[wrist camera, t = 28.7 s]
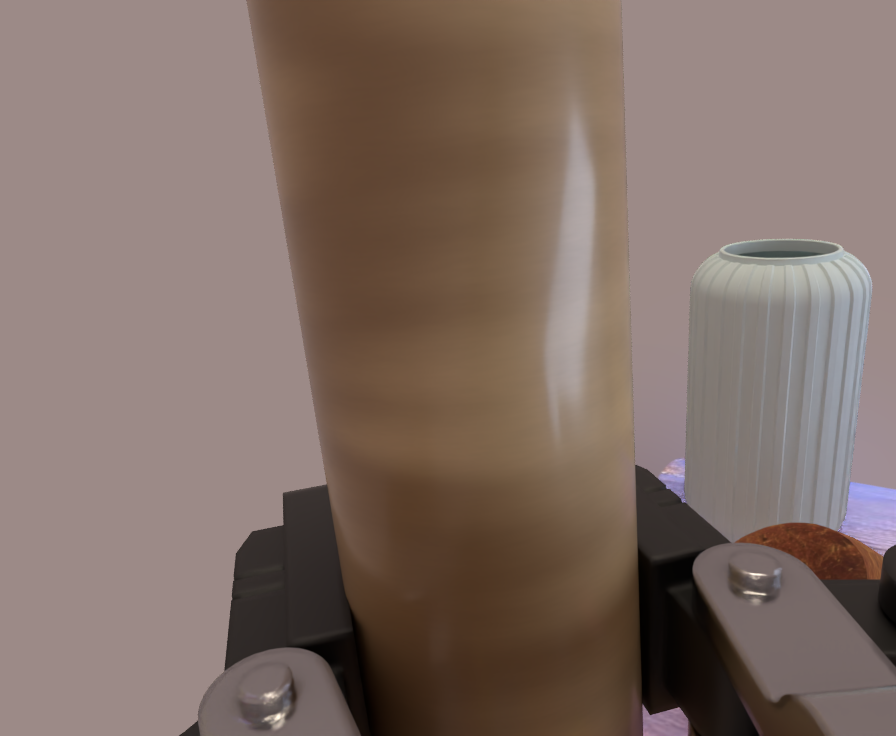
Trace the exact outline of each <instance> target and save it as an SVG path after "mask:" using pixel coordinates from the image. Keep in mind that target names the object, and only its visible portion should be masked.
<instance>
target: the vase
mask: <svg viewBox="0 0 896 736" xmlns="http://www.w3.org/2000/svg"><path fill="white" fill-rule="evenodd" d="M871 296H872V281H871V278H870V275H869V273H868V271H867V269H866V268H865V266H864V265H863V263H862V262H860V261H859V260H858V259H857V258H856V257H855V256H854V255H852V254H850V253H847V252H846V251H844V249H843V247H842V246H840V245H838V244H835V243H831V242H825V241H818V240H817V241H816V240H805V239H804V240H803V239H766V240H754V241H745V242H738V243H733V244H729V245H726V246H724V247H722V248H721V249H720V252H718V253H716V254H714V255H712V256H710V257H709V258H707V259H706V260H705V261H704V262H703V263H702V264H701V265H700V266H699V268H698V269H697V271H696V272H695V274H694V277H693V279H692V281H691V288H690V318H689V352H688V385H687V386H688V387H687V419H686V421H687V422H686V453H685V485H684V493H685V499H686V501H687V505H689V506H690V507H691V508H692V509H693V510H694V511H696V512H697V513H698V514H699V515H700V516H701V517H702V518H704V519H705V520H706V521H707V522H708V523H709V524H711V525H712V526H713V527H714V528H715V529H716V530H717V531H719V532H720V533H721V534H722V535H723V536H724V537H726V538H727V539H728V540H729V541H730V542H731V543H734V542H736V541H737V540H739V539H740V538H742V537H744V536H746V535H748V534H750V533H753V532H755V531H757V530H760V529H763V528H765V527H769V526H773V525H778V524H784V523H791V522H795V523H811V524H817V525H821V526H824V527H827V528H830V529H832V530H835V531H838V530H839V528H840V527H841V525H842V522H843V521H844V519H845V516H846V511H847V502H848V494H849V485H850V477H851V467H852V459H853V451H854V442H855V434H856V425H857V417H858V408H859V399H860V391H861V382H862V373H863V365H864V357H865V348H866V339H867V331H868V322H869V314H870V305H871Z"/></svg>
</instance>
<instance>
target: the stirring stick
mask: <svg viewBox="0 0 896 736" xmlns="http://www.w3.org/2000/svg"><path fill="white" fill-rule="evenodd" d="M247 6H248V11H249V18H250V24H251V30H252V36H253V42H254V48H255V54H256V60H257V66H258V72H259V78H260V84H261V90H262V96H263V102H264V108H265V114H266V120H267V126H268V132H269V138H270V144H271V150H272V157H273V163H274V169H275V175H276V180H277V186H278V193H279V199H280V205H281V210H282V217H283V223H284V229H285V235H286V241H287V247H288V253H289V259H290V265H291V270H292V277H293V283H294V289H295V295H296V301H297V307H298V313H299V319H300V325H301V331H302V337H303V343H304V349H305V355H306V361H307V367H308V373H309V379H310V385H311V391H312V397H313V404H314V410H315V416H316V422H317V428H318V433H319V440H320V446H321V451H322V457H323V464H324V470H325V475H326V482H327V488H328V494H329V500H330V506H331V512H332V518H333V524H334V530H335V536H336V542H337V548H338V554H339V560H340V566H341V572H342V578H343V584H344V589H345V595H346V597H347V599H348V602H349V607H350V613H351V619H352V625H353V632H354V638H355V644H356V650H357V656H358V662H359V668H360V674H361V680H362V686H363V692H364V698H365V704H366V710H367V716H368V722H369V728H370V735H371V736H643V710H642V677H641V643H640V610H639V576H638V543H637V509H636V476H635V443H634V410H633V377H632V376H633V375H632V342H631V311H630V310H631V309H630V275H629V245H628V242H629V241H628V208H627V176H626V145H625V144H626V143H625V142H626V141H625V109H624V108H625V107H624V74H623V41H622V7H621V0H247Z"/></svg>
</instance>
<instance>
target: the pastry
mask: <svg viewBox="0 0 896 736" xmlns="http://www.w3.org/2000/svg"><path fill="white" fill-rule="evenodd" d="M734 543H752V544H759V545H764V546H768V547H772V548H775V549H778V550H781V551H783V552H786V553H788V554H790V555H792V556H794V557H795V558H797V559H799V560H800V561H802V562H803V563H804V564H806V565H807V566H808V567H809V568H810V569H811V570H812V571H813V572H814V574H815V575H816V576H817V577H818V578H819V579H823V580H862V579H880V577H881V570H882V563H883V556H881V555H880V554H878V553H877V552H875V551H874V550H872V549H871V548H869V547H868V546H866V545H865V544H863V543H861V542H860V541H858V540H856V539H855V538H853V537H850V536H848V535H845V534H842V533H840V532H837V531H835V530H832V529H830V528H827V527H824V526H821V525H817V524H811V523H795V522H791V523H784V524H778V525H773V526H769V527H765V528H763V529H760V530H757V531H755V532H753V533H750V534H748V535H746V536H744V537H742V538H740V539H739V540H737V541H736V542H734Z"/></svg>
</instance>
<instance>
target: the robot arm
mask: <svg viewBox="0 0 896 736" xmlns="http://www.w3.org/2000/svg"><path fill="white" fill-rule="evenodd" d="M635 476H636V509H637V543H638V576H639V610H640V643H641V677H642V703H643V705H644V706H645V708H646V709H647V711H648V712H649V714H650V715H652V714H656V713H660V712H663V711H667V710H670V709H674V708H677V707H680V708H681V710H682V711H683V713H684V714H685V715H686V717H687V718H688V736H896V545H894V546H893V547H891V548H889V549H888V550H887V551H886V553H885V554H884V557H883V563H882V570H881V577H880V579H862V580H823V579H819V578H818V577H817V576H816V575H815V574H814V572H813V571H812V570H811V569H810V568H809V567H808V566H807V565H806V564H804V563H803V562H802V561H800V560H799V559H797V558H795V557H794V556H792V555H790V554H788V553H786V552H783V551H781V550H778V549H775V548H772V547H768V546H764V545H759V544H752V543H731V542H730V541H729V540H728V539H727V538H726V537H724V536H723V535H722V534H721V533H720V532H719V531H717V530H716V529H715V528H714V527H713V526H712V525H711V524H709V523H708V522H707V521H706V520H705V519H704V518H702V517H701V516H700V515H699V514H698V513H697V512H696V511H694V510H693V509H692V508H691V507H690V506H689V505H687V504H686V503H685V502H684V503H682V501H681V498H679V497H678V496H677V495H676V494H675V493H674V492H673V491H671V490H670V489H666V485H664V484H663V483H662V482H661V481H660V480H659V479H658V478H656V477H655V476H654V475H653V474H652V473H651V472H649V471H648V470H647V469H644V468H642V467H640V466H637V465H635ZM283 520H284V521H283V522H284V525H283V526H277V527H272V528H267V529H263V530H258V531H253V532H252V533H251V534H250V535H249V537H248V538H247V540H246V541H245V542H244V543H243V545H242V546H241V548H240V549H239V550H238V552H237V553H236V560H235V569H234V581H233V589H232V601H231V610H230V620H229V630H228V641H227V650H226V660H225V671H224V672H223V673H222V674H221V675H220V676H219V677H218V678H217V679H216V680H215V681H214V682H213V683H212V684H211V686H210V687H209V688H208V690H207V691H206V693H205V694H204V696H203V699H202V701H201V703H200V706H199V711H198V721H197V722H196V723H195V724H193V725H192V726H191V727H190V728H189V729H187V730H186V731H185V732H184V733H182V734H181V735H179V736H371V735H370V728H369V722H368V716H367V710H366V704H365V698H364V692H363V686H362V680H361V674H360V668H359V662H358V656H357V650H356V644H355V638H354V632H353V625H352V619H351V613H350V607H349V602H348V599H347V597H346V595H345V589H344V584H343V578H342V572H341V566H340V560H339V554H338V548H337V542H336V536H335V530H334V524H333V518H332V512H331V506H330V500H329V494H328V488H327V485H322V486H317V487H311V488H306V489H301V490H296V491H290V492H285V493H283Z"/></svg>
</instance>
